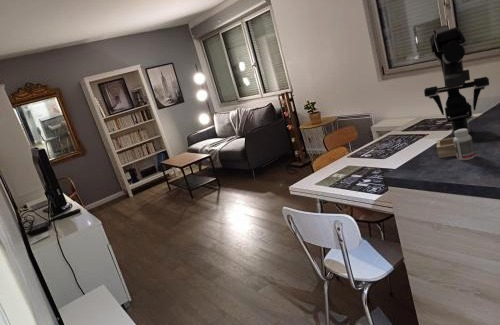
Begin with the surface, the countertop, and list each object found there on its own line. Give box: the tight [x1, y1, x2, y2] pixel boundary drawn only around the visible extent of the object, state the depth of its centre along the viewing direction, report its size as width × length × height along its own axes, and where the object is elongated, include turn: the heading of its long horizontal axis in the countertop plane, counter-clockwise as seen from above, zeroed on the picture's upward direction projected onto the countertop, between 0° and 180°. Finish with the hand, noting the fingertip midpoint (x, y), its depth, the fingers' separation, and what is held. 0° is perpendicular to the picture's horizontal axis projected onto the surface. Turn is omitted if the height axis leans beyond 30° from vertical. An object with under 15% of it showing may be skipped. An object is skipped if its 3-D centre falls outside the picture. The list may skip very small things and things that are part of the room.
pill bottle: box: [453, 129, 476, 161], centre depth 120 cm, size 5×5×10 cm
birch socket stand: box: [436, 136, 456, 159], centre depth 129 cm, size 8×8×4 cm
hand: (458, 112), depth 121 cm, fingers open, 9 cm apart
